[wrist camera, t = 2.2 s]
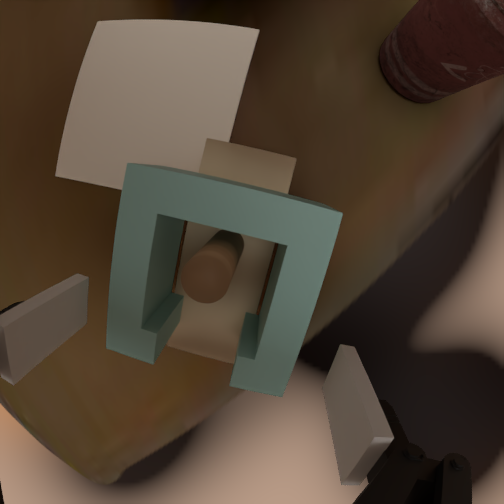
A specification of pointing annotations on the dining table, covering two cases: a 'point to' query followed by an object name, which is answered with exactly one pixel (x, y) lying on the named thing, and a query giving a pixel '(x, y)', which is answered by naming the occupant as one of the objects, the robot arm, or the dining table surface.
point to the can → (444, 48)
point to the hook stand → (225, 257)
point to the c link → (227, 218)
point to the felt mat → (153, 96)
